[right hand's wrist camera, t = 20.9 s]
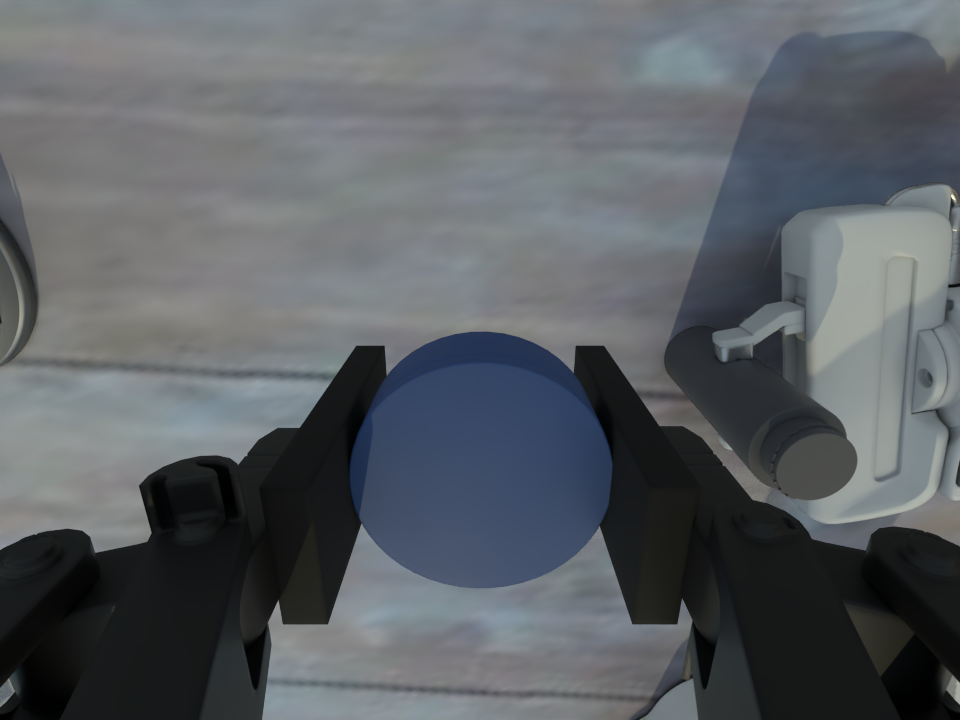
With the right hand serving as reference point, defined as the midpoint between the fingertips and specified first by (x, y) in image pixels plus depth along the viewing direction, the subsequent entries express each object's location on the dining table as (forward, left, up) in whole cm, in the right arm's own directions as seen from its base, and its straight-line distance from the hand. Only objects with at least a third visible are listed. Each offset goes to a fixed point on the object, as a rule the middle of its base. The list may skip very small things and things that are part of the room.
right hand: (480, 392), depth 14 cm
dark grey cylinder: (+13, +11, -23) cm, 29 cm away
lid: (0, 0, +4) cm, 4 cm away
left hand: (+13, +10, -17) cm, 24 cm away
